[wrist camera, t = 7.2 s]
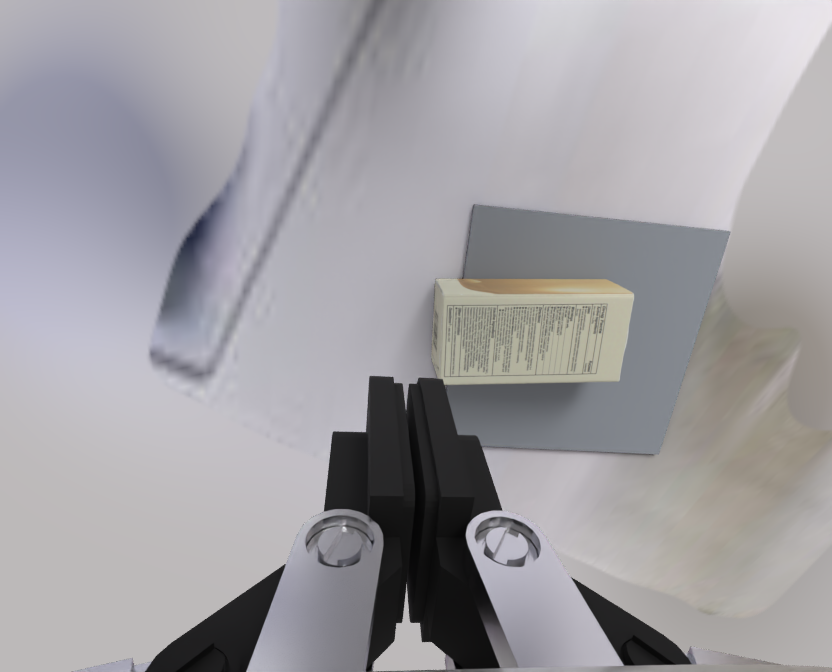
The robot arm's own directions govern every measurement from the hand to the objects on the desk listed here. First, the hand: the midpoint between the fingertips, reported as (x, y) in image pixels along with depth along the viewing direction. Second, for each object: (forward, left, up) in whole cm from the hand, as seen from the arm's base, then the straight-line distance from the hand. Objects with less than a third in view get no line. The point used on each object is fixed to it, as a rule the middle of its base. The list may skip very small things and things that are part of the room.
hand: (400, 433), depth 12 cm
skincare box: (+5, +4, -21) cm, 22 cm away
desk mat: (+6, +15, -24) cm, 29 cm away
